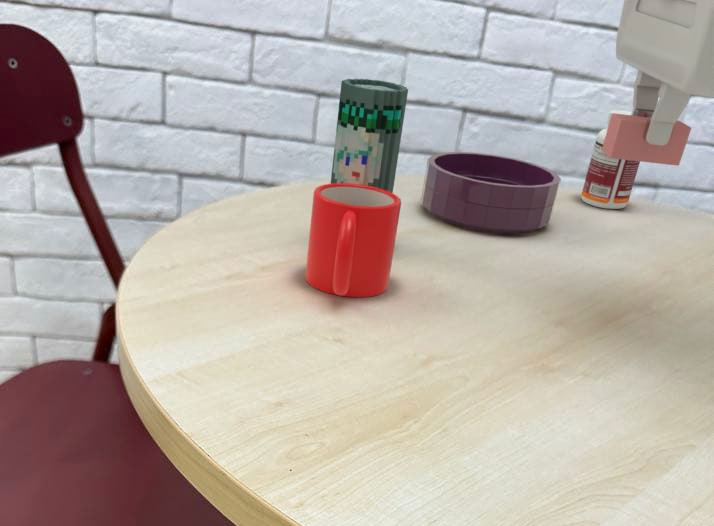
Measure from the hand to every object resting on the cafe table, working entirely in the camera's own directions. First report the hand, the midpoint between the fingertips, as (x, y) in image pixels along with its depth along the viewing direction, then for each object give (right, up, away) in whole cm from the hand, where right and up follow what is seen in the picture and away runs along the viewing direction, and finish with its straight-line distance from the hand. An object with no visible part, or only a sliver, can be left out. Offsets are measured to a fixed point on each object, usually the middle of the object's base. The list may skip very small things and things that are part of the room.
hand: (646, 137), depth 73 cm
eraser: (0, -1, +1) cm, 2 cm away
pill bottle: (+11, +11, +42) cm, 44 cm away
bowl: (-8, +5, +30) cm, 32 cm away
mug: (-26, -11, +6) cm, 29 cm away
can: (-24, -3, +17) cm, 30 cm away
